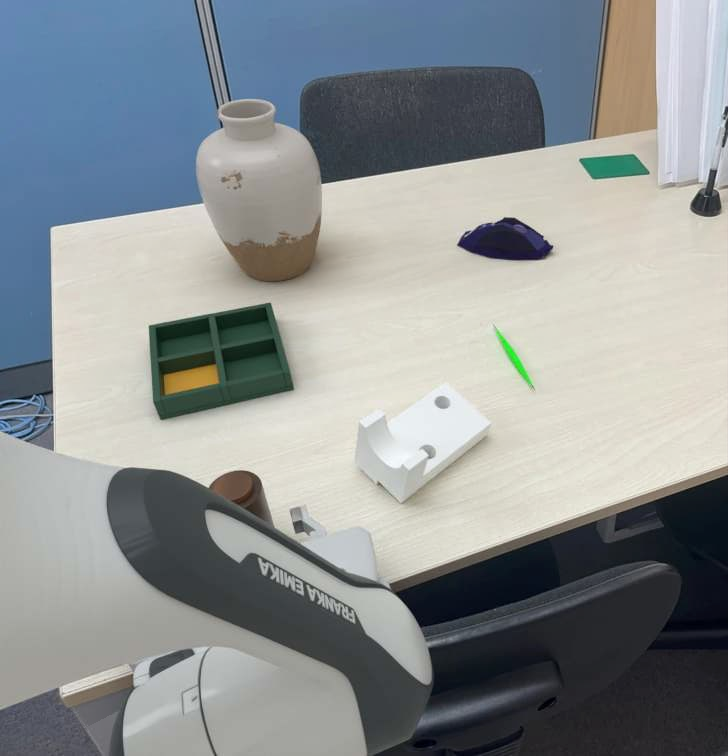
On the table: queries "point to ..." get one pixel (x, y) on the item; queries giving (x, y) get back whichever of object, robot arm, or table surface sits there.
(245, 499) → the brown lidded canister
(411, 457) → the bracket
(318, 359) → the table surface
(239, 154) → the vase
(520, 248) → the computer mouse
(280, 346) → the grid
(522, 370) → the leaf
